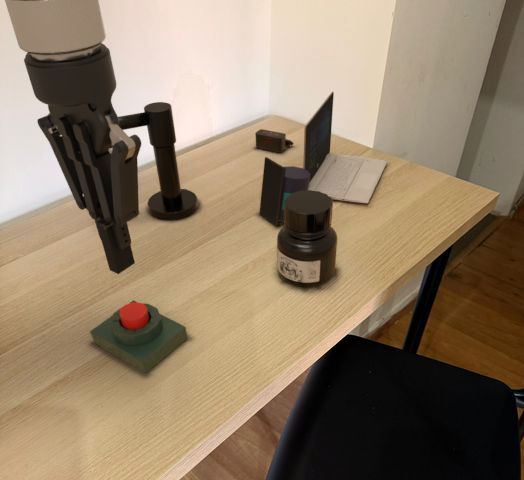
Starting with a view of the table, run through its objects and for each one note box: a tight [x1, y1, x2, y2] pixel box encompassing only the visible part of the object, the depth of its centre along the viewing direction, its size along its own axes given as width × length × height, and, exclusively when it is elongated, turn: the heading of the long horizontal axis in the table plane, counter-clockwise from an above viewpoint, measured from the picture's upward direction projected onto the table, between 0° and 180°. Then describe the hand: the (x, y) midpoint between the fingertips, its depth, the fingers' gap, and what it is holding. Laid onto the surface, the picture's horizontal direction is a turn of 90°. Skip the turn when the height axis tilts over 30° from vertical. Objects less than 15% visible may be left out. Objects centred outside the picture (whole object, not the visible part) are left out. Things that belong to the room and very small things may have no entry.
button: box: [119, 301, 149, 330], centre depth 69 cm, size 4×4×2 cm
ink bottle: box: [276, 190, 338, 288], centre depth 79 cm, size 10×9×12 cm
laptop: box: [302, 90, 388, 204], centre depth 99 cm, size 18×12×13 cm
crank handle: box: [118, 101, 177, 147], centre depth 88 cm, size 16×4×11 cm, turn 113°
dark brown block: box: [255, 128, 294, 154], centre depth 114 cm, size 5×7×3 cm, turn 61°
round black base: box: [147, 144, 199, 221], centre depth 94 cm, size 9×9×12 cm
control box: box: [89, 299, 188, 374], centre depth 71 cm, size 10×8×4 cm
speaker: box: [258, 156, 311, 228], centre depth 91 cm, size 8×6×10 cm
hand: (122, 266), depth 64 cm, fingers closed
